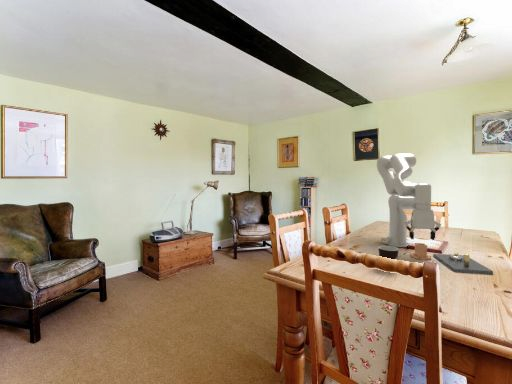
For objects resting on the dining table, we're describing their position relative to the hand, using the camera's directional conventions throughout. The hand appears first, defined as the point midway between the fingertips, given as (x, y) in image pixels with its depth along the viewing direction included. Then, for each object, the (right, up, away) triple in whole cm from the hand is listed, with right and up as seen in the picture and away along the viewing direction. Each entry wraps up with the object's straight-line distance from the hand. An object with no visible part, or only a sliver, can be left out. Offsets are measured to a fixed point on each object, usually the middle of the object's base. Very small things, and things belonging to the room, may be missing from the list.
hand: (422, 239), depth 142 cm
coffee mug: (-24, -12, -14) cm, 30 cm away
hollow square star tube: (0, -10, +2) cm, 10 cm away
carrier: (+12, -11, -10) cm, 19 cm away
